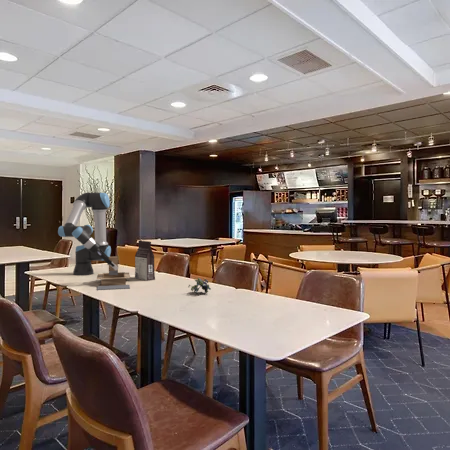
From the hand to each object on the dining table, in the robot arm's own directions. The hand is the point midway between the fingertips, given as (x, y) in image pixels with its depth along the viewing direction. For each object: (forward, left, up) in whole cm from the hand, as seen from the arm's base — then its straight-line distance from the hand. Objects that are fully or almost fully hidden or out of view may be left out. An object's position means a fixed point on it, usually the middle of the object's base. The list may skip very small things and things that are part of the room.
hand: (117, 268), depth 259 cm
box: (0, -3, -4) cm, 5 cm away
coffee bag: (-11, +20, -10) cm, 24 cm away
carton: (-1, -2, -10) cm, 10 cm away
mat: (+18, -2, -10) cm, 21 cm away
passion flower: (+50, +47, -10) cm, 70 cm away
